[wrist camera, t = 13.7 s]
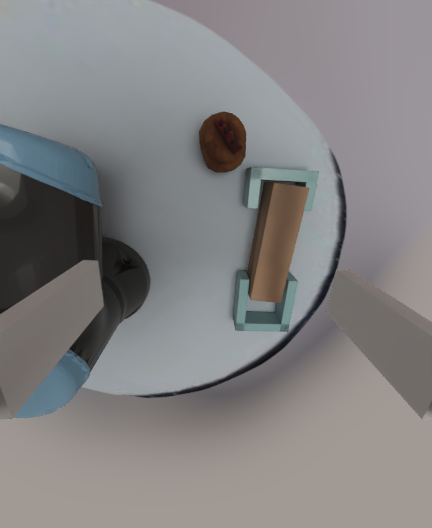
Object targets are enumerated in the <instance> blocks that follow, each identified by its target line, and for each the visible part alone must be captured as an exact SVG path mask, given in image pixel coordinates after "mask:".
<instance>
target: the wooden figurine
mask: <svg viewBox="0 0 432 528" xmlns="http://www.w3.org/2000/svg"><path fill="white" fill-rule="evenodd" d="M199 137H200V145H201V150H202V154H203V157H204V160H205V162H206V164H207V166H208V168H209V169H211V170H213V171H214V172H228V171H232V170H234V169H236V168H237V167H238V166H240V165H241V163H242V161H243V159H244V158H245V151H246V144H245V143H246V131H245V129H244V126H243V124H242V122H241V121H240V119H239V118H238V117H236V116H235V115H233V114H232V113H228V112H220V113H217V114H214V115H212V116H210V117H209V118H208V119H206V120H205V121H204V123H203V125H202V127H201V129H200V131H199Z"/></svg>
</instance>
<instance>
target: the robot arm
mask: <svg viewBox="0 0 432 528" xmlns="http://www.w3.org/2000/svg"><path fill="white" fill-rule="evenodd" d="M101 207H103V203H102V202H101V201H100V192H99V182H98V173H97V169H96V167H95V165H94V163H93V162H92V160H91V159H90V158H89V157H88V156H87V155H85V154H84V153H82V152H81V151H79V150H77V149H74V148H72V147H69V146H67V145H64V144H61V143H59V142H56V141H53V140H50V139H47V138H44V137H41V136H38V135H34V134H31V133H28V132H25V131H22V130H18V129H15V128H12V127H8V126H5V125H2V124H0V419H12V418H30V417H38V416H43V415H46V414H49V413H52V412H54V411H56V410H57V409H58V408H61V407H63V406H65V405H66V404H67V403H68V402H69V401H70V400H71V399H72V398H73V397H74V395H75V394H76V393H77V391H78V390H79V389H80V387H81V386H82V385H83V384H84V383H85V382H86V380H87V379H88V377H89V375H90V372H91V370H92V368H93V367H94V365H95V363H96V362H97V360H98V358H99V357H100V355H101V353H102V351H103V350H104V348H105V346H106V345H107V343H108V341H109V340H110V338H111V336H112V335H113V333H114V331H115V330H116V328H117V326H118V325H119V323H121V322H122V321H123V320H124V319H126V318H128V317H130V316H131V315H133V314H134V313H135V312H137V311H138V310H139V308H140V307H141V306H142V304H143V303H144V301H145V299H146V297H147V295H148V292H149V288H150V276H149V272H148V269H147V267H146V265H145V263H144V261H143V260H142V258H141V257H140V256H139V255H138V254H137V253H136V252H135V251H134V250H133V249H132V248H130V247H129V246H127V245H126V244H124V243H122V242H119V241H116V240H113V239H109V238H102V224H101ZM326 312H327V314H328V315H329V316H330V317H331V318H332V319H333V320H334V321H335V322H336V323H337V325H338V326H339V327H340V328H341V329H342V330H343V331H344V333H345V334H346V335H347V336H348V337H349V338H350V339H351V340H352V341H353V343H354V344H355V345H356V346H357V347H358V348H359V349H360V350H361V352H362V353H363V354H364V355H365V356H366V357H367V358H368V359H369V360H370V362H372V364H373V365H374V366H375V367H376V368H377V369H378V370H379V371H380V373H381V374H382V375H383V376H384V377H385V378H386V379H387V381H389V383H390V384H391V385H392V386H393V387H394V388H395V390H396V391H397V392H398V393H399V394H400V395H401V396H402V397H403V398H404V400H405V401H406V402H407V403H408V404H409V405H410V406H411V407H412V409H413V410H414V411H415V412H416V413H417V414H418V415H419V416H420V417H421V419H432V322H431V321H429V320H427V319H426V318H424V317H422V316H421V315H420V314H418V313H416V312H415V311H413V310H412V309H410V308H409V307H407V306H406V305H404V304H402V303H401V302H399V301H398V300H396V299H395V298H393V297H391V296H390V295H388V294H387V293H385V292H383V291H382V290H380V289H379V288H377V287H375V286H374V285H373V284H371V283H369V282H368V281H366V280H365V279H363V278H362V277H360V276H358V275H357V274H355V273H353V272H352V271H351V270H339V269H336V273H335V277H334V281H333V285H332V289H331V294H330V297H329V301H328V305H327V309H326Z"/></svg>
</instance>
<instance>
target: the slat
mask: <svg viewBox="0 0 432 528" xmlns="http://www.w3.org/2000/svg"><path fill="white" fill-rule="evenodd" d="M309 189H310V188H308V187H301V186H294V185H287V184H279V183H269V182H264V187H263V192H262V197H261V202H260V208H259V213H258V218H257V224H256V229H255V234H254V239H253V245H252V250H251V255H250V261H249V266H248V271H247V275H248V277H249V289H248V294H249V297H250V300H256V301H267V302H277V303H281V299H282V295H283V291H284V287H285V283H286V279H287V275H288V271H289V267H290V263H291V259H292V256H293V252H294V248H295V244H296V240H297V236H298V232H299V228H300V224H301V220H302V216H303V212H304V208H305V205H306V201H307V197H308V193H309Z"/></svg>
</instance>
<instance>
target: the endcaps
mask: <svg viewBox="0 0 432 528" xmlns="http://www.w3.org/2000/svg"><path fill="white" fill-rule="evenodd" d="M318 174H319V171H305V170H288V169H272V168H255V167H251V168H247V172H246V183H245V194H244V206H246V207H247V208H258V201H259V192H260V183H261V180H275V181H292V182H296V186H301V187H308V188H310V189H309V193H308V197H307V201H306V205H305V208H304V211H311V210H312V205H313V200H314V195H315V190H316V184H317V179H318ZM297 283H298V281H297V280H296V279H295V278H294V276H293V275H292V274H291V273H290V272H288V275H287V279H286V283H285V287H284V291H283V295H282V299H281V303H276V309H275V312H247V311H246V307H247V298H248V289H249V277H248V275H247V272H246V271H242V270H237V281H236V292H235V303H234V314H233V320H234V325H235V330H238V331H284V332H288V330H289V324H290V319H291V314H292V309H293V304H294V299H295V293H296V288H297Z"/></svg>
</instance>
